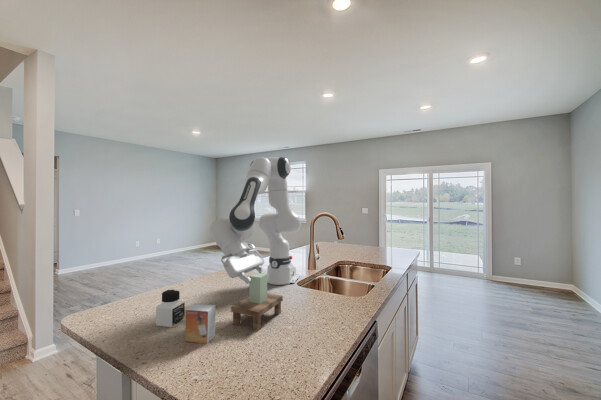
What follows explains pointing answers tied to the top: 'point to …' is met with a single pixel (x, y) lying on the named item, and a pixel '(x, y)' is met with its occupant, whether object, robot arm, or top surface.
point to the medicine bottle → (170, 309)
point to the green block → (258, 288)
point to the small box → (200, 323)
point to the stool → (256, 309)
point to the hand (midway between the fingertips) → (256, 279)
